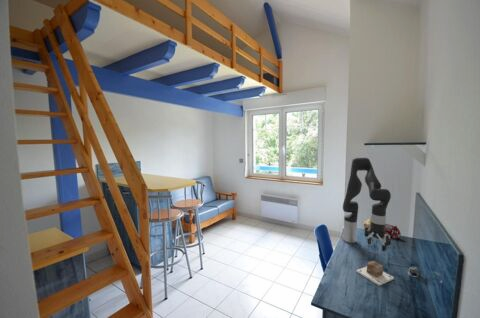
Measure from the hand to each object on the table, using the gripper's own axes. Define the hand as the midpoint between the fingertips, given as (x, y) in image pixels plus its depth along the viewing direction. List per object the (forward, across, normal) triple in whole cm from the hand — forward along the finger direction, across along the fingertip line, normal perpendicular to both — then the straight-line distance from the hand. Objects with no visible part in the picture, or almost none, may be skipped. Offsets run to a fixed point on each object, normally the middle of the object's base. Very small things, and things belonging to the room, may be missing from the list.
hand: (376, 247), depth 128 cm
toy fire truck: (+18, -28, +67) cm, 75 cm away
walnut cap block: (+17, 0, 0) cm, 17 cm away
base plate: (+18, 0, 0) cm, 18 cm away
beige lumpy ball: (+18, -44, +61) cm, 77 cm away
